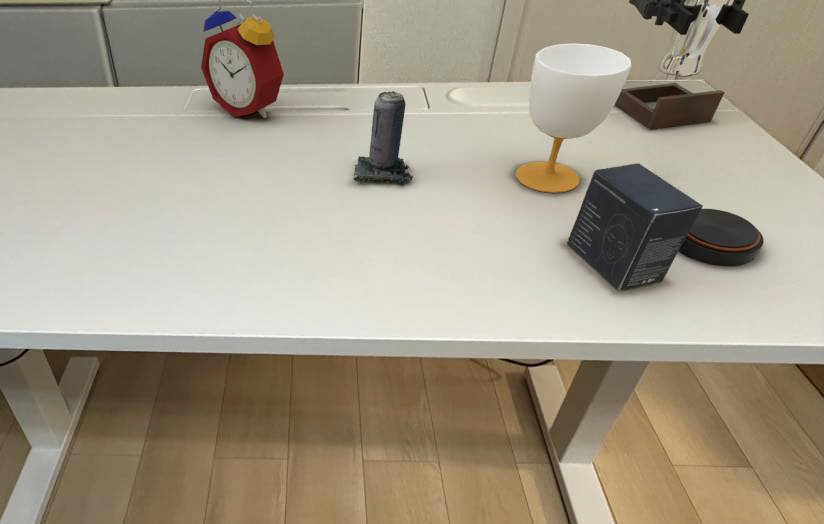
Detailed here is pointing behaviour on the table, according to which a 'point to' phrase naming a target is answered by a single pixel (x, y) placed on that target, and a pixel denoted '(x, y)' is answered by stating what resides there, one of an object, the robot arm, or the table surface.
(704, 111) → the wooden tray
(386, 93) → the beverage can
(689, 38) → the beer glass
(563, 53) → the cup
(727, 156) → the table surface
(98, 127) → the table surface
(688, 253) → the hot plate
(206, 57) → the alarm clock
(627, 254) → the box
